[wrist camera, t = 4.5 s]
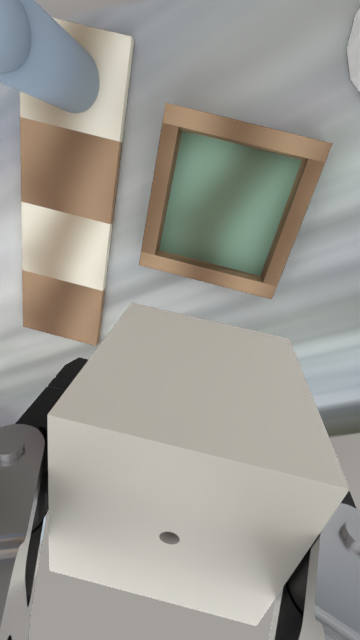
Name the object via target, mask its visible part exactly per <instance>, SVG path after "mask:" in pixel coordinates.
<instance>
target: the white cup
mask: <svg viewBox="0 0 360 640" xmlns="http://www.w3.org/2000/svg"><path fill="white" fill-rule="evenodd" d="M347 58H348V65H349V73H350V80H351V81H352V83H353V84H354V86H355V87H356V88H357V90H358V91H359V92H360V7H359V9H358V11H357V12H356V14H355V18H354V22H353V26H352V30H351V34H350V38H349V41H348V45H347Z"/></svg>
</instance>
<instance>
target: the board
mask: <svg viewBox="0 0 360 640" xmlns="http://www.w3.org/2000/svg"><path fill="white" fill-rule="evenodd" d="M53 19H54V20H55V21H56V22H57V23H58V24H59V25H60V26H61V27H62V28H63V29H64V30H66V31H67V32H68V33H69V34H70V35H71V36H72V37H73V38H74V39H75V40H76V41H77V42H78V43H79V44H80V45H81V46H82V47H83V48H84V49H85V50H86V51H87V52H88V53H89V54H90V55H91V57H92V58H93V60H94V62H95V64H96V66H97V69H98V73H99V82H100V83H99V92H98V95H97V98H96V100H95V102H94V103H93V105H92V106H91V107H90V108H89V109H88V110H86V111H84V112H81V113H70V112H67V111H65V110H62V109H60V108H58V107H55V106H53V105H51V104H48V103H46V102H44V101H42V100H39V99H37V98H35V97H32V96H30V95H28V94H26V93H23V92H21V91H20V134H21V207H22V279H23V327H27V328H31V329H35V330H38V331H42V332H46V333H50V334H53V335H57V336H61V337H65V338H69V339H72V340H76V341H80V342H84V343H87V344H91V345H95V346H97V344H98V343H99V336H100V327H101V319H102V310H103V302H104V294H105V285H106V277H107V268H108V260H109V251H110V243H111V234H112V226H113V217H114V209H115V200H116V192H117V183H118V175H119V166H120V158H121V149H122V141H123V132H124V124H125V115H126V107H127V98H128V90H129V81H130V73H131V64H132V56H133V47H134V40H133V38H132V37H131V36H127V35H123V34H118V33H114V32H110V31H106V30H102V29H98V28H93V27H89V26H85V25H81V24H77V23H73V22H69V21H64V20H60V19H56V18H53Z"/></svg>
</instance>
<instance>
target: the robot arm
mask: <svg viewBox="0 0 360 640" xmlns="http://www.w3.org/2000/svg"><path fill="white" fill-rule="evenodd" d="M87 361H88V360H87V359H83V358H78V359H76V360H74V361H72V362H70V363H68V364H66V365H65V366H64V367H63V368H62V370H61V371H60V372H59V373H58V374H57V375H56V378H54V379H53V380H52V381H51V382H50V384H49V385H48V387H46V388H45V390H44V391H43V392H42V393H41V394H40V395H39V397H38V398H37V399H36V400H35V401H34V402H33V404H32V405H31V406H30V407H29V408H28V409H27V411H26V412H25V413H24V414H23V415H22V417H21V418H20V419H19V420H18V421H17V422H16V423H15V424H12V425H7V426H3V427H0V640H29V628H30V617H31V610H32V603H33V597H34V590H35V584H36V578H37V572H38V565H39V559H40V553H41V546H42V540H43V534H44V528H45V522H46V514H47V511H48V510H49V504H48V428H47V415H48V413H49V412H50V411H51V409H52V408H53V407H54V405H55V404H56V403H57V401H58V400H59V399H60V397H61V396H62V395H63V393H64V392H65V391H66V389H67V388H68V387H69V385H70V384H71V383H72V381H73V380H74V379H75V377H76V376H77V375H78V373H79V372H80V371H81V369H82V368H83V367H84V365H85V364H86V363H87ZM269 640H360V510H358V509H356V506H355V504H354V502H353V499H352V497H351V494H350V492H349V491H348V493H347V494H346V496H345V497H344V499H343V500H342V502H341V503H340V505H339V506H338V507H337V509H336V510H335V512H334V513H333V515H332V516H331V518H330V519H329V521H328V522H327V524H326V525H325V526H324V528H323V529H322V531H321V532H320V534H319V535H318V537H317V538H316V540H315V541H314V543H313V544H312V545H311V547H310V548H309V550H308V551H307V553H306V554H305V556H304V557H303V559H302V560H301V562H300V563H299V564H298V566H297V567H296V569H295V570H294V572H293V573H292V575H291V576H290V578H289V579H288V581H287V582H286V583H285V585H284V586H283V588H282V589H281V591H280V592H279V594H278V595H277V597H276V602H275V607H274V612H273V618H272V623H271V629H270V635H269Z"/></svg>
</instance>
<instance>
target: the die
mask: <svg viewBox="0 0 360 640" xmlns="http://www.w3.org/2000/svg"><path fill="white" fill-rule="evenodd" d="M47 428H48V504H49V570H50V571H53V572H56V573H60V574H64V575H68V576H71V577H75V578H79V579H83V580H86V581H90V582H94V583H98V584H101V585H105V586H109V587H112V588H116V589H120V590H124V591H127V592H131V593H135V594H139V595H143V596H146V597H150V598H154V599H157V600H161V601H165V602H168V603H172V604H176V605H180V606H183V607H187V608H191V609H195V610H198V611H202V612H206V613H210V614H214V615H217V616H221V617H225V618H229V619H232V620H236V621H239V622H243V623H247V624H251V625H255V626H257V624H258V623H259V621H260V620H261V619H262V617H263V616H264V614H265V613H266V611H267V610H268V608H269V607H270V605H271V604H272V602H273V601H274V600H275V598H276V597H277V595H278V594H279V592H280V591H281V589H282V588H283V586H284V585H285V583H286V582H287V581H288V579H289V578H290V576H291V575H292V573H293V572H294V570H295V569H296V567H297V566H298V564H299V563H300V562H301V560H302V559H303V557H304V556H305V554H306V553H307V551H308V550H309V548H310V547H311V545H312V544H313V543H314V541H315V540H316V538H317V537H318V535H319V534H320V532H321V531H322V529H323V528H324V526H325V525H326V524H327V522H328V521H329V519H330V518H331V516H332V515H333V513H334V512H335V510H336V509H337V507H338V506H339V505H340V503H341V502H342V500H343V499H344V497H345V496H346V494H347V493H348V491H349V490H350V488H349V486H348V484H347V481H346V478H345V476H344V474H343V471H342V469H341V466H340V464H339V461H338V459H337V456H336V454H335V451H334V449H333V446H332V444H331V442H330V439H329V436H328V434H327V431H326V429H325V426H324V424H323V422H322V419H321V417H320V414H319V412H318V409H317V407H316V404H315V402H314V399H313V397H312V394H311V392H310V389H309V387H308V384H307V382H306V379H305V377H304V375H303V372H302V370H301V367H300V365H299V362H298V360H297V357H296V355H295V352H294V350H293V347H292V345H291V342H290V340H289V339H288V338H284V337H280V336H275V335H271V334H266V333H262V332H258V331H253V330H249V329H245V328H240V327H236V326H231V325H227V324H223V323H218V322H214V321H210V320H205V319H201V318H196V317H192V316H188V315H183V314H179V313H175V312H170V311H166V310H161V309H157V308H153V307H148V306H144V305H140V304H135V303H131V304H130V305H129V307H128V308H127V309H126V311H125V312H124V313H123V315H122V316H121V317H120V319H119V320H118V321H117V323H116V324H115V325H114V327H113V328H112V329H111V331H110V332H109V333H108V335H107V336H106V337H105V339H104V340H103V341H102V343H101V344H100V345H99V347H98V348H97V349H96V351H95V352H94V353H93V355H92V356H91V357H90V359H89V360H88V361H87V363H86V364H85V365H84V367H83V368H82V369H81V371H80V372H79V373H78V375H77V376H76V377H75V379H74V380H73V381H72V383H71V384H70V385H69V387H68V388H67V389H66V391H65V392H64V393H63V395H62V396H61V397H60V399H59V400H58V401H57V403H56V404H55V405H54V407H53V408H52V409H51V411H50V412H49V413H48V415H47Z"/></svg>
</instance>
